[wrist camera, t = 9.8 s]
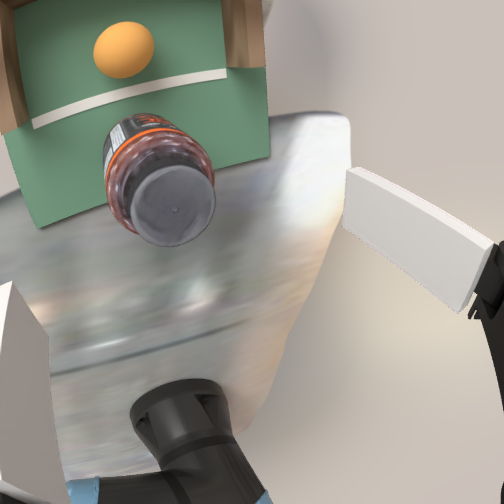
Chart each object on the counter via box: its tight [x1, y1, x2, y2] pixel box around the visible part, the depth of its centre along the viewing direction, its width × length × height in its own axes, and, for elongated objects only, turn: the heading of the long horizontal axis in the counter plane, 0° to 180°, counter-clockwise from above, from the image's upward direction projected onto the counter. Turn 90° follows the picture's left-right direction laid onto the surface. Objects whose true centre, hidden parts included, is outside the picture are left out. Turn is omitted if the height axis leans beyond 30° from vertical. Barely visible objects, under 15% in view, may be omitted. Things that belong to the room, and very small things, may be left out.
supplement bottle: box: [103, 113, 216, 247], centre depth 18 cm, size 6×6×11 cm
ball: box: [93, 22, 154, 78], centre depth 15 cm, size 4×4×4 cm
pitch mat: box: [3, 0, 270, 229], centre depth 17 cm, size 22×21×1 cm
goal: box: [0, 0, 266, 135], centre depth 14 cm, size 10×18×4 cm, turn 97°
